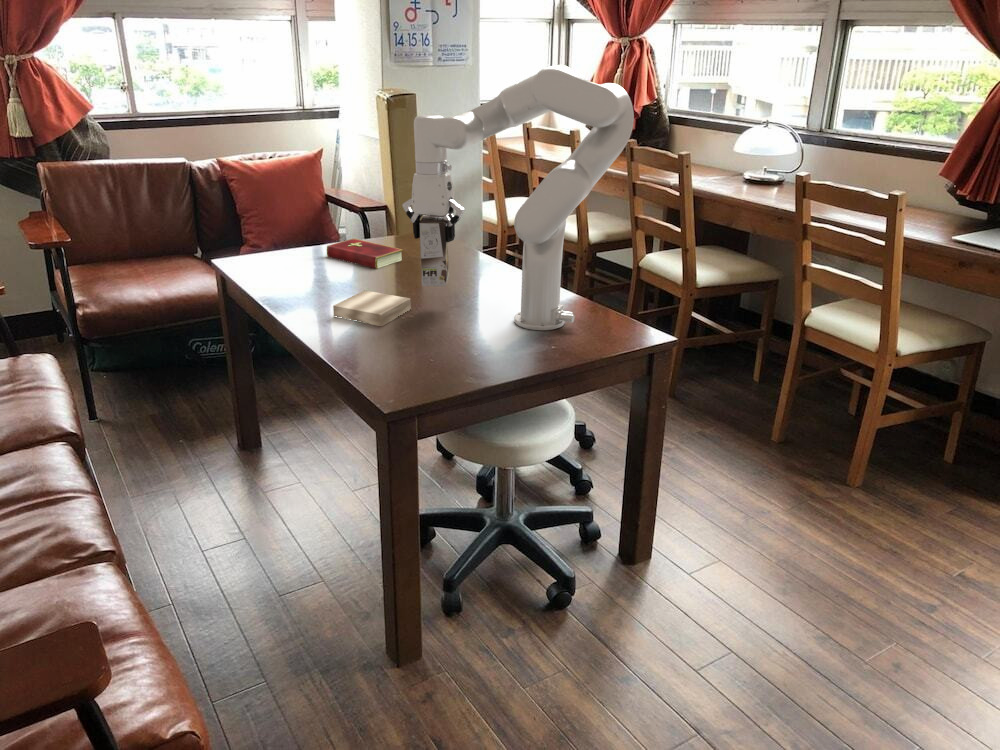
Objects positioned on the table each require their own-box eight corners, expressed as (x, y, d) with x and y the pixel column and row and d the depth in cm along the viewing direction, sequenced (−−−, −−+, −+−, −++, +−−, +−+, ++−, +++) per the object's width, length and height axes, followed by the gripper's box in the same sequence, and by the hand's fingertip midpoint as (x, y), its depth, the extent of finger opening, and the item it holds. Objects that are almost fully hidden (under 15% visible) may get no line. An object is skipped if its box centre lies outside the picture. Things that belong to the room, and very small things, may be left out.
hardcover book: (376, 270, 242) (376, 256, 241) (327, 258, 253) (326, 245, 252) (403, 261, 251) (403, 248, 250) (354, 250, 262) (353, 237, 261)
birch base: (410, 309, 210) (410, 298, 208) (381, 326, 198) (381, 314, 197) (365, 301, 215) (364, 290, 214) (333, 317, 203) (333, 305, 202)
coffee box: (447, 286, 203) (444, 222, 197) (421, 286, 203) (418, 222, 197) (449, 276, 211) (447, 214, 205) (425, 276, 211) (422, 214, 205)
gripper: (470, 168, 196) (472, 239, 203) (408, 163, 202) (411, 232, 209) (456, 173, 189) (458, 246, 196) (392, 168, 196) (396, 239, 203)
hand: (434, 239), depth 203 cm, fingers closed on coffee box, 8 cm apart
